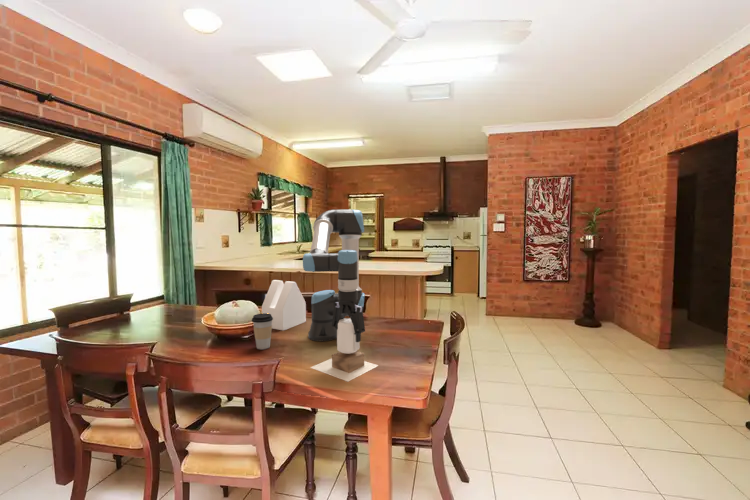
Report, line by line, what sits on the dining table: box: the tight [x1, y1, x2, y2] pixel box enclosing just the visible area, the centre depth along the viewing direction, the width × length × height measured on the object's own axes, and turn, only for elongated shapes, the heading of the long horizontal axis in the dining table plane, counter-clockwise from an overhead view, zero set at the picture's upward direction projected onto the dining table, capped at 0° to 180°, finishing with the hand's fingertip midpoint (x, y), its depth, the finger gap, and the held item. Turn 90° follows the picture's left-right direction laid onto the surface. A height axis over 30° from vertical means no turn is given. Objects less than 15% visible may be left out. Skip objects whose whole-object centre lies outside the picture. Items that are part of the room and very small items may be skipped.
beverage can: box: [336, 317, 358, 354], centre depth 136 cm, size 8×8×12 cm
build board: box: [309, 357, 379, 382], centre depth 137 cm, size 20×18×1 cm
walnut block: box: [331, 350, 365, 373], centre depth 137 cm, size 9×9×5 cm
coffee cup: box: [251, 313, 273, 350], centre depth 162 cm, size 9×9×15 cm
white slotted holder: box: [261, 279, 307, 331], centre depth 199 cm, size 19×15×25 cm
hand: (348, 347), depth 137 cm, fingers closed on beverage can, 8 cm apart
